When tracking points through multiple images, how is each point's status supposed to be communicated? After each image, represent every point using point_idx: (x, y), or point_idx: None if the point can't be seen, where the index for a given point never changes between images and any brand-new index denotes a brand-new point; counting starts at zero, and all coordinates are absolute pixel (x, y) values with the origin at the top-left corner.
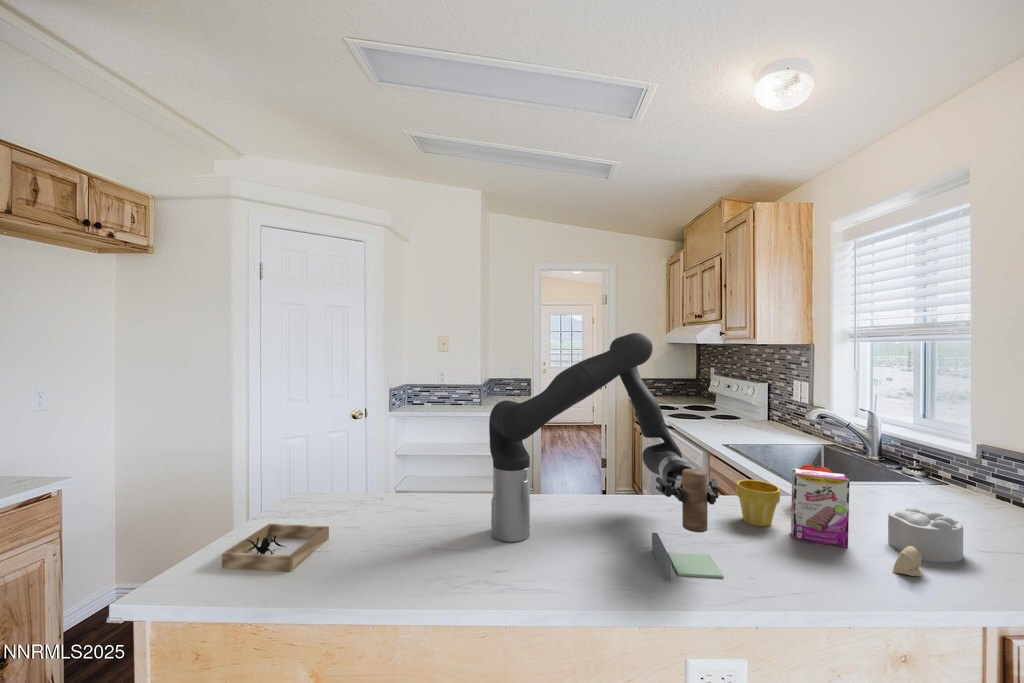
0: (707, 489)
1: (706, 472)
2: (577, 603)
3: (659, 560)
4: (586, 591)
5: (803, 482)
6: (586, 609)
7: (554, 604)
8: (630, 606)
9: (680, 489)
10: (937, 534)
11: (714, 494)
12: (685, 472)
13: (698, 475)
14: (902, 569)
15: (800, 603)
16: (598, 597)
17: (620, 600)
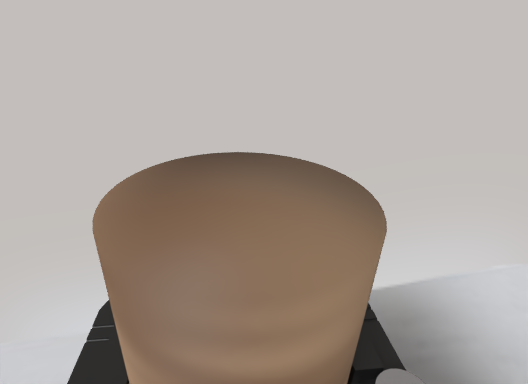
0: (113, 368)
1: (105, 200)
2: (476, 286)
3: None
4: (490, 320)
5: None
6: (453, 276)
7: (506, 279)
8: (391, 293)
9: (361, 332)
10: None
11: (103, 316)
12: (343, 186)
13: (234, 155)
14: None
15: (28, 363)
16: (456, 306)
17: (415, 305)
